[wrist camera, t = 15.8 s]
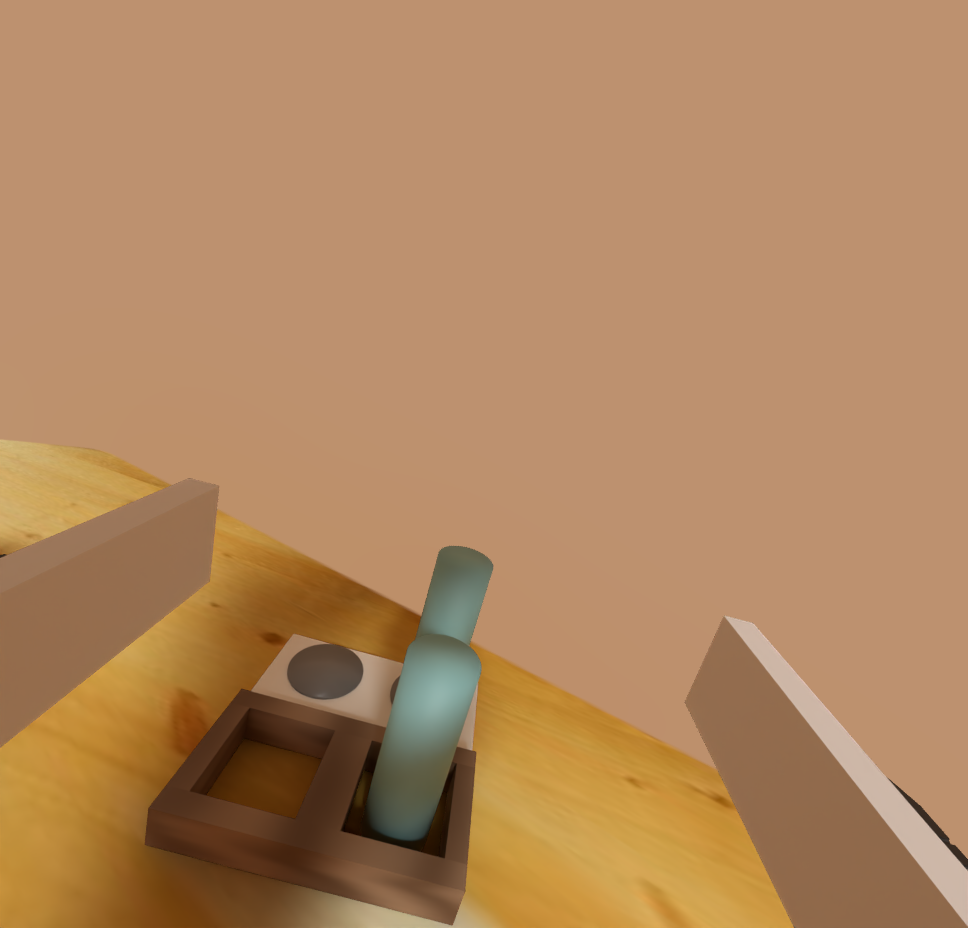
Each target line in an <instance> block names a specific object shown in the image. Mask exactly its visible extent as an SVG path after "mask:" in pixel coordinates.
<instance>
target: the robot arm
mask: <svg viewBox="0 0 968 928" xmlns="http://www.w3.org/2000/svg"><path fill="white" fill-rule="evenodd" d="M218 493H219V486H218V485H215V484H211V483H206V482H203V481H199V480H195V479H191V478H188V479H186V480H184V481H181V482H179V483H176V484H174V485H172V486H169V487H167V488H165V489H162V490H160V491H158V492H155V493H153V494H150V495H148V496H146V497H143V498H141V499H139V500H136V501H134V502H131V503H129V504H127V505H124V506H122V507H120V508H117V509H115V510H113V511H110V512H108V513H105V514H103V515H101V516H98V517H96V518H94V519H91V520H89V521H87V522H84V523H82V524H79V525H77V526H75V527H72V528H70V529H68V530H65V531H63V532H61V533H58V534H56V535H53V536H51V537H49V538H46V539H44V540H42V541H39V542H37V543H34V544H32V545H30V546H27V547H25V548H23V549H20V550H18V551H16V552H13V553H11V554H8V555H6V554H3V555H0V747H2V746H3V745H4V744H5V743H7V742H8V741H9V740H10V739H12V738H13V737H14V736H15V735H17V734H18V733H19V732H20V731H22V730H23V729H24V728H25V727H27V726H28V725H29V724H30V723H32V722H33V721H34V720H35V719H37V718H38V717H39V716H41V715H42V714H43V713H44V712H46V711H47V710H48V709H49V708H51V707H52V706H53V705H54V704H56V703H57V702H58V701H59V700H61V699H62V698H63V697H64V696H66V695H67V694H68V693H69V692H71V691H72V690H73V689H75V688H76V687H77V686H78V685H80V684H81V683H82V682H83V681H85V680H86V679H87V678H88V677H90V676H91V675H92V674H93V673H95V672H96V671H97V670H98V669H100V668H101V667H102V666H103V665H105V664H106V663H107V662H108V661H110V660H111V659H112V658H114V657H115V656H116V655H117V654H119V653H120V652H121V651H122V650H124V649H125V648H126V647H127V646H129V645H130V644H131V643H132V642H134V641H135V640H136V639H137V638H139V637H140V636H141V635H142V634H144V633H145V632H146V631H148V630H149V629H150V628H151V627H153V626H154V625H155V624H156V623H158V622H159V621H160V620H161V619H163V618H164V617H165V616H166V615H168V614H169V613H170V612H171V611H173V610H174V609H175V608H176V607H178V606H179V605H180V604H181V603H183V602H184V601H185V600H187V599H188V598H189V597H190V596H192V595H193V594H194V593H195V592H197V591H198V590H199V589H200V588H202V587H203V586H204V585H205V584H207V583H208V582H209V581H210V573H211V563H212V553H213V543H214V533H215V523H216V513H217V502H218ZM685 704H686V706H687V708H688V710H689V712H690V714H691V716H692V718H693V720H694V722H695V724H696V727H697V728H698V730H699V733H700V735H701V737H702V739H703V741H704V743H705V745H706V747H707V749H708V751H709V753H710V755H711V757H712V759H713V761H714V764H715V766H716V768H717V770H718V772H719V774H720V776H721V778H722V780H723V782H724V784H725V786H726V788H727V790H728V792H729V794H730V796H731V799H732V801H733V803H734V805H735V807H736V809H737V811H738V813H739V815H740V817H741V819H742V821H743V823H744V825H745V827H746V829H747V831H748V834H749V836H750V838H751V840H752V842H753V844H754V846H755V848H756V850H757V852H758V854H759V856H760V858H761V860H762V862H763V864H764V866H765V869H766V871H767V873H768V875H769V877H770V879H771V881H772V883H773V885H774V887H775V889H776V891H777V893H778V895H779V897H780V899H781V901H782V904H783V906H784V908H785V910H786V912H787V914H788V916H789V918H790V920H791V922H792V924H793V926H794V928H968V859H967V858H966V857H965V856H964V855H963V854H962V853H961V851H960V850H959V849H958V848H957V847H956V846H955V845H951V844H950V842H949V838H948V837H947V836H946V835H945V834H944V832H943V831H942V830H941V829H940V828H939V826H938V825H937V824H936V823H935V822H934V821H933V820H932V819H931V817H930V816H929V815H928V814H927V813H926V812H925V811H924V810H923V808H922V807H921V806H920V805H918V804H917V803H916V802H915V801H914V800H913V799H912V798H911V797H909V796H908V795H907V794H906V793H905V792H903V791H902V790H901V789H900V788H899V787H898V786H897V785H895V784H894V783H893V782H892V781H891V780H890V779H888V778H887V777H886V776H885V775H884V774H883V773H882V772H881V770H880V769H879V768H878V767H877V766H876V764H875V763H874V762H873V761H872V760H871V759H870V758H869V756H868V755H867V754H866V753H865V752H864V751H863V749H861V747H860V746H859V745H858V744H857V743H856V742H855V740H854V739H853V738H852V737H851V736H850V734H849V733H848V732H847V731H846V730H845V729H844V728H843V726H842V725H841V724H840V723H839V722H838V721H837V719H836V718H835V717H834V716H833V715H832V714H831V713H830V711H829V710H828V709H827V708H826V707H825V706H824V704H823V703H822V702H821V701H820V700H819V699H818V698H817V696H815V694H814V693H813V692H812V691H811V690H810V688H809V687H808V686H807V685H806V684H805V683H804V681H803V680H802V679H801V678H800V677H799V676H798V674H797V673H796V672H795V671H794V670H793V669H792V668H791V666H790V665H789V664H788V663H787V662H786V661H785V659H784V658H783V657H782V656H781V655H780V654H779V653H778V651H777V650H776V649H775V648H774V647H773V646H772V644H771V643H770V642H769V641H768V640H767V639H766V638H765V637H764V636H763V634H762V633H761V632H760V631H759V629H758V628H757V627H756V626H755V625H754V624H753V623H751V622H747V621H743V620H739V619H735V618H731V617H727V616H724V617H723V619H722V621H721V623H720V626H719V628H718V630H717V632H716V634H715V636H714V639H713V641H712V643H711V646H710V647H709V650H708V652H707V654H706V656H705V659H704V661H703V663H702V665H701V667H700V670H699V672H698V674H697V676H696V679H695V680H694V683H693V685H692V687H691V689H690V692H689V694H688V696H687V698H686V700H685Z"/></svg>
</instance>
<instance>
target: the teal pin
mask: <svg viewBox="0 0 968 928" xmlns="http://www.w3.org/2000/svg"><path fill="white" fill-rule="evenodd" d="M480 674H481V662H480V660H479V658H478V656H477V654H476V653H475V652H474V650H473V649H472V648H471V647H469V646H468V645H467V644H465V643H464V642H462V641H460V640H458V639H456V638H454V637H450V636H447V635H441V634H430V635H425V636H421V637H419V638H417V639H415V640H414V641H413V642H412V643H411V644H410V645H409V647H408V649H407V653H406V656H405V660H404V664H403V667H402V671H401V675H400V679H399V682H398V686H397V690H396V693H395V697H394V701H393V704H392V708H391V712H390V716H389V719H388V723H387V727H386V730H385V734H384V738H383V742H382V745H381V749H380V753H379V756H378V760H377V764H376V768H375V771H374V775H373V779H372V782H371V786H370V790H369V793H368V797H367V801H366V805H365V808H364V812H363V816H362V820H361V825H360V833H361V837H365V838H369V839H373V840H376V841H380V842H384V843H388V844H391V845H395V846H399V847H403V848H407V849H410V850H414V851H418V852H421V850H422V849H423V847H424V845H425V843H426V840H427V837H428V834H429V831H430V828H431V824H432V821H433V818H434V815H435V812H436V809H437V806H438V803H439V800H440V797H441V794H442V791H443V788H444V785H445V781H446V778H447V775H448V772H449V769H450V766H451V763H452V760H453V757H454V754H455V751H456V748H457V745H458V742H459V738H460V735H461V732H462V729H463V726H464V723H465V720H466V717H467V714H468V711H469V708H470V705H471V702H472V698H473V695H474V692H475V689H476V686H477V683H478V680H479V677H480Z"/></svg>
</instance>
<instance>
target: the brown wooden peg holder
mask: <svg viewBox="0 0 968 928" xmlns="http://www.w3.org/2000/svg"><path fill="white" fill-rule="evenodd" d="M385 730H386V727H382V726H379V725H375V724H371V723H367V722H364V721H360V720H356V719H353V718H349V717H345V716H341V715H338V714H334V713H330V712H326V711H323V710H319V709H315V708H312V707H308V706H304V705H300V704H297V703H293V702H289V701H286V700H282V699H278V698H274V697H271V696H267V695H263V694H259V693H256V692H252V691H248V690H245V689H241V690H240V692H239V693H238V694H237V695H236V697H235V698H234V699H233V701H232V702H231V703H230V704H229V706H228V707H227V708H226V709H225V711H224V712H223V713H222V715H221V716H220V717H219V718H218V720H217V721H216V722H215V724H214V725H213V726H212V727H211V729H210V730H209V731H208V733H207V734H206V735H205V736H204V738H203V739H202V740H201V742H200V743H199V744H198V745H197V747H196V748H195V749H194V750H193V752H192V753H191V754H190V756H189V757H188V758H187V759H186V761H185V762H184V763H183V765H182V766H181V767H180V768H179V770H178V771H177V772H176V774H175V775H174V776H173V777H172V779H171V780H170V781H169V782H168V784H167V785H166V786H165V788H164V789H163V790H162V791H161V793H160V794H159V795H158V797H157V798H156V799H155V800H154V802H153V803H152V804H151V806H150V807H149V809H148V819H147V828H146V838H145V845H147V846H151V847H155V848H159V849H163V850H167V851H170V852H174V853H178V854H182V855H186V856H189V857H193V858H197V859H201V860H205V861H209V862H212V863H216V864H220V865H224V866H228V867H231V868H235V869H239V870H243V871H247V872H251V873H254V874H258V875H262V876H266V877H270V878H274V879H277V880H281V881H285V882H289V883H293V884H296V885H300V886H304V887H308V888H312V889H316V890H319V891H323V892H327V893H331V894H335V895H338V896H342V897H346V898H350V899H354V900H358V901H361V902H365V903H369V904H373V905H377V906H380V907H384V908H388V909H392V910H396V911H400V912H403V913H407V914H411V915H415V916H419V917H423V918H426V919H430V920H434V921H438V922H442V923H445V924H449V925H453V923H454V920H455V917H456V915H457V912H458V909H459V906H460V904H461V901H462V898H463V896H464V893H465V886H466V873H467V861H468V849H469V836H470V824H471V811H472V799H473V786H474V774H475V762H476V752H475V751H472V750H468V749H464V748H460V747H457V748H456V751H455V754H454V757H453V760H452V763H451V766H450V769H449V772H448V775H447V778H446V781H445V785H444V788H443V791H444V792H447V798H446V805H445V812H444V820H443V827H442V834H441V841H440V849H439V856H438V857H437V856H433V855H429V854H426V853H422V852H418V851H414V850H410V849H407V848H403V847H399V846H395V845H391V844H388V843H384V842H380V841H376V840H373V839H369V838H365V837H361V836H357V835H354V834H350V833H346V832H343V830H344V827H345V824H346V821H347V819H348V816H349V813H350V810H351V807H352V804H353V801H354V798H355V795H356V792H357V789H358V786H359V783H360V781H361V778H362V775H363V772H364V770H365V771H369V772H373V773H374V771H375V768H376V764H377V760H378V756H379V753H380V749H381V745H382V742H383V738H384V734H385ZM244 738H245V739H249V740H253V741H257V742H260V743H264V744H268V745H272V746H275V747H279V748H283V749H287V750H290V751H294V752H298V753H301V754H305V755H309V756H313V757H316V758H320V759H322V761H321V763H320V765H319V767H318V770H317V772H316V774H315V776H314V778H313V781H312V783H311V785H310V787H309V790H308V792H307V794H306V796H305V798H304V801H303V803H302V805H301V807H300V809H299V812H298V814H297V816H296V818H295V819H293V818H289V817H286V816H282V815H278V814H274V813H270V812H267V811H263V810H259V809H255V808H251V807H248V806H244V805H240V804H236V803H233V802H229V801H225V800H221V799H217V798H214V797H210V796H206V794H207V793H208V791H209V790H210V788H211V787H212V785H213V784H214V782H215V781H216V779H217V778H218V776H219V775H220V773H221V772H222V770H223V769H224V767H225V766H226V764H227V763H228V761H229V760H230V759H231V757H232V756H233V754H234V753H235V751H236V750H237V748H238V747H239V745H240V744H241V742H242V741H243V739H244Z"/></svg>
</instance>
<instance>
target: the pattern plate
mask: <svg viewBox="0 0 968 928" xmlns="http://www.w3.org/2000/svg"><path fill="white" fill-rule="evenodd" d="M403 664H404V663H400V662H397V661H393V660H389V659H385V658H382V657H378V656H374V655H371V654H367V653H363V652H360V651H356V650H352V649H349V648H345V647H342V646H339V645H334V644H330V643H326V642H323V641H319V640H315V639H312V638H308V637H304V636H301V635H297V634H293V635H292V637H291V638H290V639H289V641H288V642H287V643H286V645H285V646H284V647H283V649H282V650H281V651H280V653H279V654H278V655H277V657H276V658H275V659H274V661H273V662H272V663H271V665H270V666H269V667H268V669H267V670H266V671H265V673H264V674H263V675H262V677H261V678H260V679H259V681H258V682H257V683H256V685H255V686H254V687H253V689H252V690H251V691H252V692H256V693H259V694H263V695H267V696H271V697H274V698H278V699H282V700H286V701H289V702H293V703H297V704H300V705H304V706H308V707H312V708H315V709H319V710H323V711H326V712H330V713H334V714H338V715H341V716H345V717H349V718H353V719H356V720H360V721H364V722H367V723H371V724H375V725H379V726H382V727H387V723H388V719H389V716H390V712H391V708H392V704H393V701H394V697H395V693H396V690H397V686H398V682H399V679H400V675H401V671H402V667H403ZM477 692H478V683H477V686H476V689H475V692H474V695H473V698H472V702H471V705H470V708H469V711H468V714H467V717H466V720H465V723H464V726H463V729H462V732H461V735H460V738H459V742H458V745H457V747H460V748H464V749H468V750H472V747H473V736H474V725H475V714H476V703H477Z"/></svg>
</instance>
